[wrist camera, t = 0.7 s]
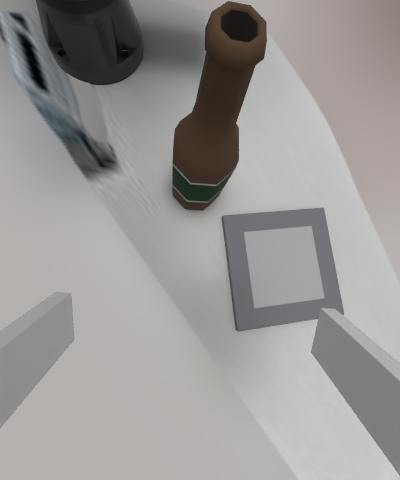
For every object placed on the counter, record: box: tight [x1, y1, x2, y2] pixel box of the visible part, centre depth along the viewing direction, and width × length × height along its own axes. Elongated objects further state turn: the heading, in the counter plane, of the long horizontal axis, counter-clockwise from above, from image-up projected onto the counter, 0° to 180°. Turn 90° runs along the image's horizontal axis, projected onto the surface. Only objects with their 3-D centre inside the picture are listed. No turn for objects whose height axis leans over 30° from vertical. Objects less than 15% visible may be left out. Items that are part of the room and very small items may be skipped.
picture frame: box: [222, 208, 344, 331], centre depth 34 cm, size 18×18×1 cm
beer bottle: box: [173, 1, 267, 210], centre depth 23 cm, size 8×8×24 cm
